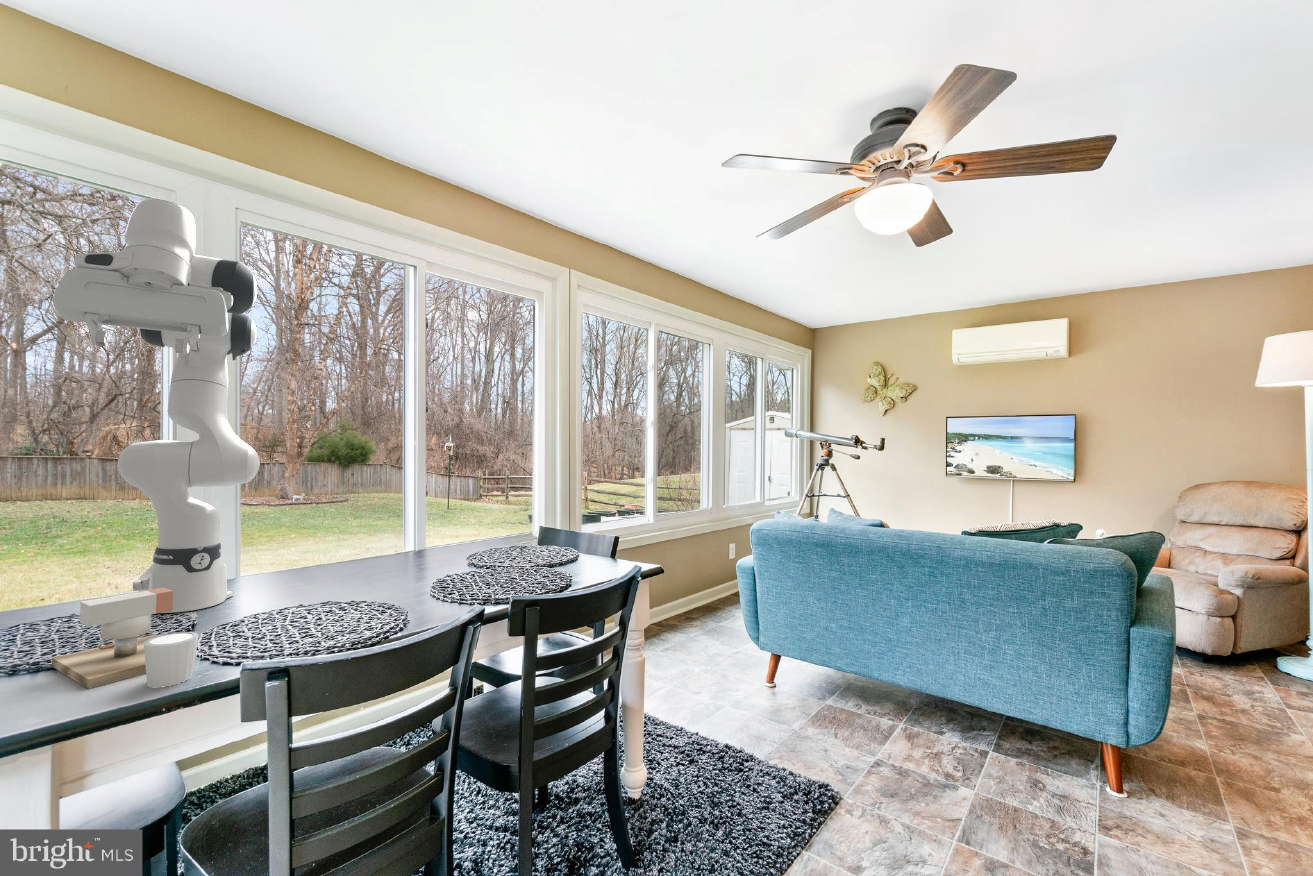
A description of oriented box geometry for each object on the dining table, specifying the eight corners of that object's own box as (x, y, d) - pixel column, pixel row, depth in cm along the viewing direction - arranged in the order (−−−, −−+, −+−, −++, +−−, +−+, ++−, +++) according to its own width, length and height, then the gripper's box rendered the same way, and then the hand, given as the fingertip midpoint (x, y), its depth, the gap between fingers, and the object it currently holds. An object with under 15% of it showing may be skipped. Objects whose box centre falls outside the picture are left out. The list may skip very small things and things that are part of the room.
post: (110, 655, 97) (111, 635, 97) (132, 650, 100) (133, 630, 100) (117, 659, 95) (118, 638, 96) (140, 653, 98) (140, 633, 98)
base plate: (51, 666, 95) (52, 656, 95) (154, 642, 107) (155, 633, 107) (88, 688, 88) (88, 678, 88) (194, 659, 100) (195, 650, 100)
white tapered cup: (131, 691, 87) (133, 647, 87) (157, 673, 94) (159, 632, 94) (182, 687, 89) (184, 644, 89) (205, 670, 96) (206, 630, 96)
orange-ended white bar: (76, 638, 94) (77, 600, 94) (158, 621, 104) (160, 586, 104) (90, 646, 91) (92, 606, 91) (174, 627, 101) (176, 591, 101)
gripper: (235, 302, 98) (228, 366, 92) (72, 280, 87) (53, 351, 81) (232, 278, 93) (225, 344, 88) (60, 251, 82) (39, 325, 77)
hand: (141, 347), depth 84 cm, fingers open, 8 cm apart
